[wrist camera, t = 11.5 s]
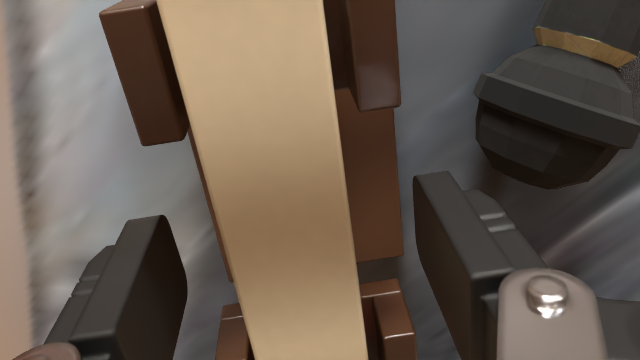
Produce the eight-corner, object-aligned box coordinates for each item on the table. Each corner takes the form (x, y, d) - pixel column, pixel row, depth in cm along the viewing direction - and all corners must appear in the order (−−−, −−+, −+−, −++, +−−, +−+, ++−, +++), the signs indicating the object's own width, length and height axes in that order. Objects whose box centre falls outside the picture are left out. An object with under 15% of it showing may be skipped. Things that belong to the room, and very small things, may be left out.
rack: (150, -32, 18) (-4, 28, 8) (375, -67, 18) (492, -49, 8) (231, 267, 24) (200, 504, 14) (398, 241, 24) (481, 460, 14)
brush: (82, -272, 8) (-47, -397, 5) (318, -308, 8) (345, -456, 5) (293, 499, 17) (297, 625, 14) (399, 482, 17) (426, 604, 14)
